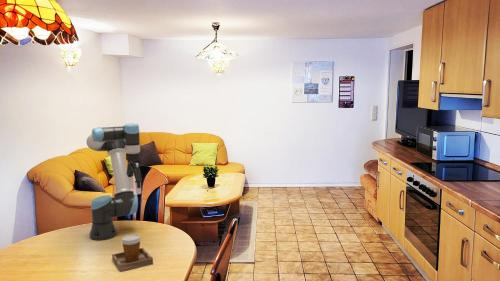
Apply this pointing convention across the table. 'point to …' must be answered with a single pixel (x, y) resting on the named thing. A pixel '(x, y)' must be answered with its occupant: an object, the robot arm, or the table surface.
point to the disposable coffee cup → (131, 247)
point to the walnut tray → (124, 266)
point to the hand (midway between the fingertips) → (134, 191)
